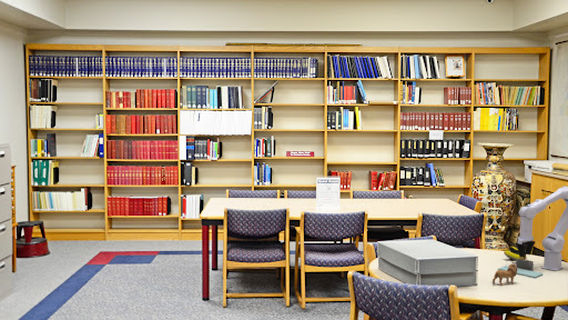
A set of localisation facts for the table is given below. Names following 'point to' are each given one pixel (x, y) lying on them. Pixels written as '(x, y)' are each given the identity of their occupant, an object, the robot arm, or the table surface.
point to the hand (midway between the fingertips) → (524, 255)
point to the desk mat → (523, 272)
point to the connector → (523, 264)
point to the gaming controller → (513, 254)
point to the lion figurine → (506, 274)
